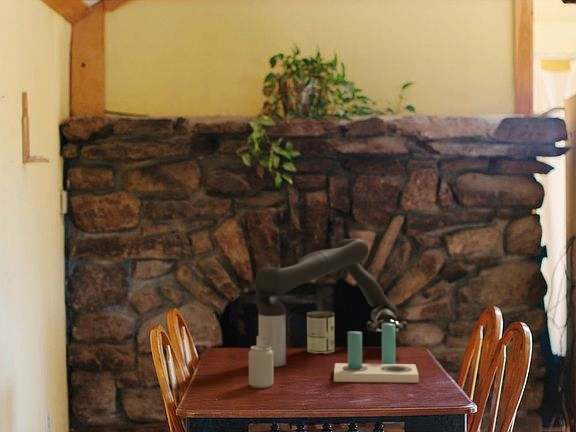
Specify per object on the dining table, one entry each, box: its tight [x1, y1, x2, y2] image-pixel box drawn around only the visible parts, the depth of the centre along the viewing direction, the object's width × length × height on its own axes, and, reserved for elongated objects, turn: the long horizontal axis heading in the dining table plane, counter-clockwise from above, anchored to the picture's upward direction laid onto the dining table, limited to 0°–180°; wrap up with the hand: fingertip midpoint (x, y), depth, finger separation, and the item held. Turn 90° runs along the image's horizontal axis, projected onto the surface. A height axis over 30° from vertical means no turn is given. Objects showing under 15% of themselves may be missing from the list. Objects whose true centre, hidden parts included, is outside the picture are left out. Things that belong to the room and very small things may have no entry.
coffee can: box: [306, 310, 335, 354], centre depth 285 cm, size 10×10×14 cm
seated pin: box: [347, 330, 363, 370], centre depth 245 cm, size 4×4×14 cm
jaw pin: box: [381, 323, 396, 364], centre depth 260 cm, size 4×4×14 cm
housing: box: [333, 362, 420, 384], centre depth 245 cm, size 14×26×3 cm, turn 85°
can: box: [248, 344, 274, 389], centre depth 234 cm, size 8×8×12 cm
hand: (387, 329), depth 271 cm, fingers open, 8 cm apart
